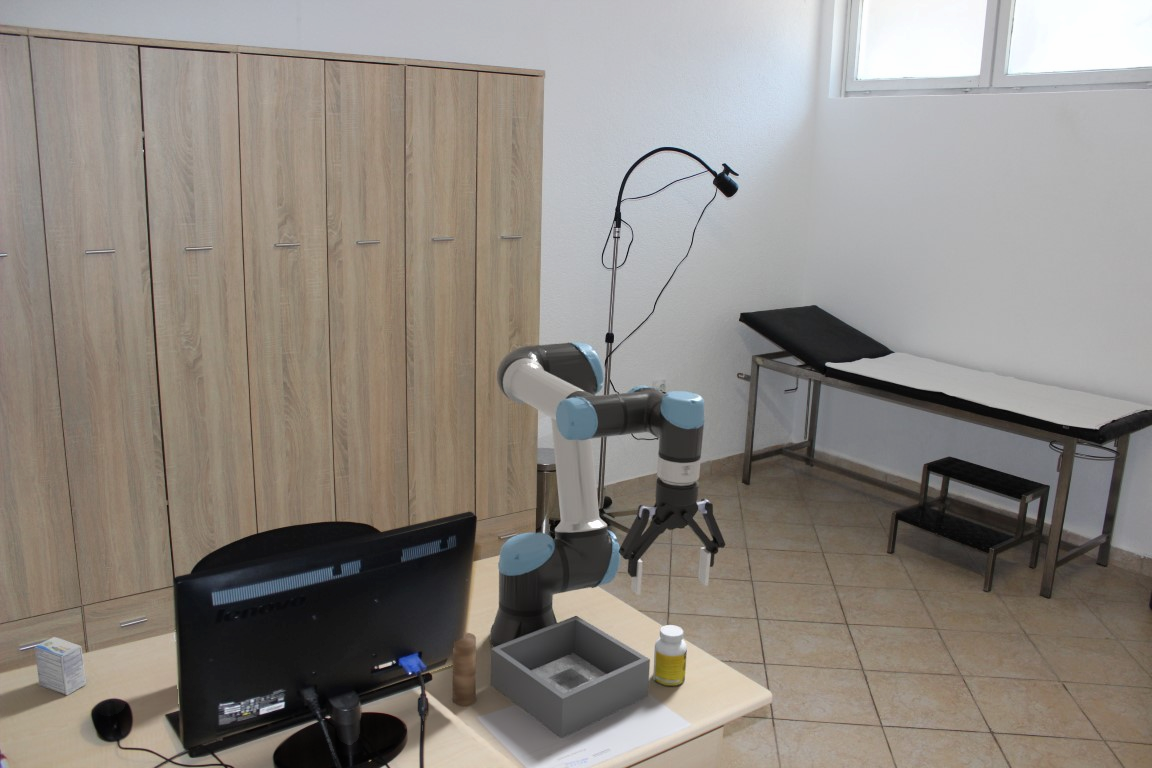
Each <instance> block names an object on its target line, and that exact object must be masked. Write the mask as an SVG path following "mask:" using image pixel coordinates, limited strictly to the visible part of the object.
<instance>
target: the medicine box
mask: <svg viewBox="0 0 1152 768" xmlns="http://www.w3.org/2000/svg"><path fill="white" fill-rule="evenodd" d="M34 653H35V660H36V668H37V676H38V684H39V686H40V687H44V688H47V689H49V690H52V691H55V692H57V693H60V694H63V695H66V696H68V695H70V694H72V693H74V692H76V691H77V690H79V689H81V688H83V687H85V686H86V685H87V680H86V673H85V665H84V658H83V657H84V656H83V650H82V646H81V645H79V644H76V643H73V642H70V641H68V640H65V639H62V638H60V637H56V636H53V637H50V638H49V639H46V640H44V641H43V642H41V643H38V644H37V645H36V646H34Z"/></svg>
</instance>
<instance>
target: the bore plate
mask: <svg viewBox="0 0 1152 768" xmlns="http://www.w3.org/2000/svg"><path fill="white" fill-rule="evenodd" d="M531 671H532V672H533V673H535V674H536V675H538V676H539V677H541V678H542V679H544V680H545V681H546V682H548V683H549V684H551V685H552V686H554V687H555V688H556V689H558V690H559V691H561V692H562V693H566V692H568V691H570V690H573V689H575V688H577V687H579V686H581V685H584V684H586V683H588V682H590V681H593V680H595V679H597V678H599V677H602V676H604V675H606V673H604V672H602V671H601V670H599V669H598V668H596V667H595V666H593V665H591V664H590V663H588V662H587V661H585V660H584V659H582V658H580V657H579V656H577V655H576V654H574V653H572V654H570V655H567V656H565V657H562V658H560V659H558V660H555V661H553V662H550V663H548V664H546V665H543V666H541V667H538V668H536V669H534V670H531ZM569 679H571V680H573V681H574V682H576V683H577V684H579V686H577V687H574V688H572V689H570V690H568V691H567V690H566V689H564V688H563V687H562V686H560V685H559V684H560V683H563V682H565V681H567V680H569Z"/></svg>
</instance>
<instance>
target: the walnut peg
mask: <svg viewBox="0 0 1152 768" xmlns="http://www.w3.org/2000/svg"><path fill="white" fill-rule="evenodd" d="M464 633H465V638H462V639H460V640H458V641H456V642H454V648H453V655H452V656H451V657H452V703H453V704H454V705H456V706H458V707H467V706H471V705H473V704H474V703H475V702H476V696H477V695H476V692H477V691H476V682H477V681H476V680H477V679H476V677H477V676H476V674H477V669H476V668H477V667H476V666H477V665H476V664H477V663H476V661H477V659H476V658H477V653H476V651H477V648H476V647H477V639H476V638H477V637H476V635H475V634H473V633H470V632H464Z"/></svg>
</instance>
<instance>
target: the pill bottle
mask: <svg viewBox="0 0 1152 768" xmlns="http://www.w3.org/2000/svg"><path fill="white" fill-rule="evenodd" d="M687 652H688V646H687V643H686V642H685V640H684V629H682V627H680V626H678V625H673V624H666V625H662V626H661V628H660V630H659V638H657V640H655V643H654V653H653V654H654V656H653V674H652V675H653V676H652V679H653V680H654V682H655V683H656V684H658V685H660V686H662V687H667V688H676V687H679V686H682V685H683V684H684V683H685V680H686V670H687V669H686V668H687Z"/></svg>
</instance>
